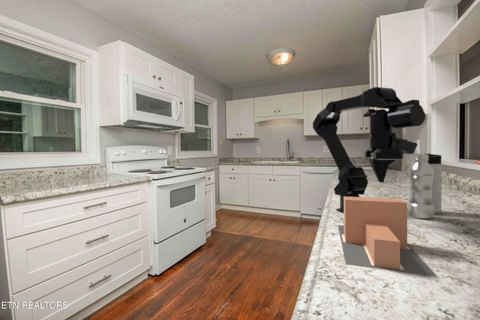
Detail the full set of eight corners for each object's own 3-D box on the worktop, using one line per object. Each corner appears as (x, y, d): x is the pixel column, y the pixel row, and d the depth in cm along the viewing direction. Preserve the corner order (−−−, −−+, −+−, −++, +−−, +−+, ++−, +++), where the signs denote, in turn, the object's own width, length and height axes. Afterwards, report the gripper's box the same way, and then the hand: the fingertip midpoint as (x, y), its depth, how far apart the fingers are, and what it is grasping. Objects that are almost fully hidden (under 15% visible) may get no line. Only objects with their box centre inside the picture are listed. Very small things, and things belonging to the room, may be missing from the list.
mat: (337, 226, 64) (337, 225, 64) (395, 231, 59) (395, 229, 59) (345, 266, 42) (345, 264, 42) (438, 279, 37) (438, 276, 37)
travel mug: (438, 211, 77) (439, 153, 76) (443, 215, 71) (443, 153, 71) (416, 208, 80) (416, 153, 80) (418, 213, 75) (418, 154, 74)
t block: (344, 236, 56) (343, 196, 55) (401, 241, 51) (401, 198, 51) (350, 262, 42) (349, 210, 42) (427, 273, 38) (427, 215, 38)
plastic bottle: (412, 220, 67) (412, 154, 67) (404, 214, 74) (404, 154, 73) (438, 222, 65) (439, 154, 64) (428, 216, 72) (428, 154, 71)
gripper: (428, 125, 55) (427, 188, 55) (402, 131, 72) (402, 179, 73) (376, 127, 59) (376, 186, 59) (363, 133, 76) (364, 178, 77)
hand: (381, 182), depth 67 cm, fingers closed
